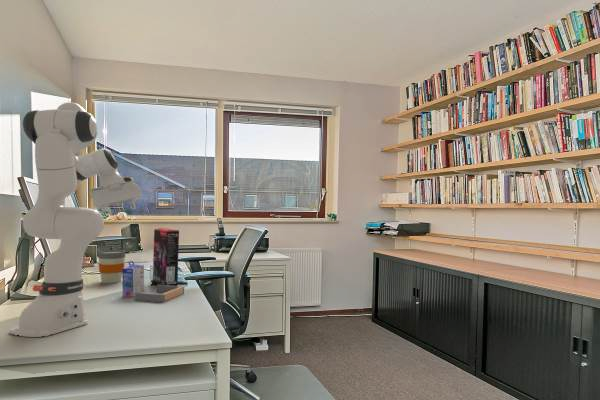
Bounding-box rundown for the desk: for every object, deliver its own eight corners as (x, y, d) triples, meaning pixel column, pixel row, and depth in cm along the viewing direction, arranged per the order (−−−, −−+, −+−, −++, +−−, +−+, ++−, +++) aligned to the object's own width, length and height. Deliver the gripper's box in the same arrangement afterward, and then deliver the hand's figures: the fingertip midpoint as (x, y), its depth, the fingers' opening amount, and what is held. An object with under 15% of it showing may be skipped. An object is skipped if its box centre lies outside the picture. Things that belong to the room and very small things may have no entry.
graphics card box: (151, 282, 205) (152, 228, 205) (165, 281, 210) (166, 227, 210) (165, 288, 192) (166, 230, 192) (179, 286, 197) (180, 230, 197)
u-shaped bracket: (162, 302, 167) (163, 295, 167) (135, 299, 170) (135, 292, 170) (184, 293, 184) (184, 286, 184) (158, 291, 187) (158, 284, 187)
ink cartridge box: (132, 291, 185) (133, 259, 185) (144, 292, 185) (145, 259, 185) (121, 296, 175) (121, 262, 175) (133, 297, 175) (134, 263, 175)
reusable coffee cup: (105, 278, 212) (106, 249, 212) (129, 279, 212) (129, 250, 212) (92, 283, 200) (92, 253, 200) (117, 284, 199) (118, 253, 199)
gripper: (88, 186, 174) (98, 214, 171) (136, 177, 186) (147, 203, 183) (86, 192, 179) (97, 220, 175) (134, 183, 191) (144, 209, 188)
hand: (123, 211), depth 179 cm, fingers open, 8 cm apart
